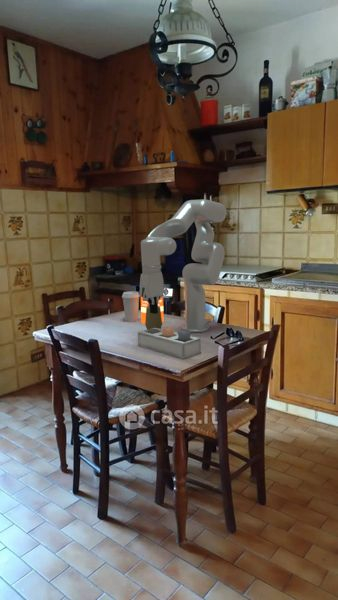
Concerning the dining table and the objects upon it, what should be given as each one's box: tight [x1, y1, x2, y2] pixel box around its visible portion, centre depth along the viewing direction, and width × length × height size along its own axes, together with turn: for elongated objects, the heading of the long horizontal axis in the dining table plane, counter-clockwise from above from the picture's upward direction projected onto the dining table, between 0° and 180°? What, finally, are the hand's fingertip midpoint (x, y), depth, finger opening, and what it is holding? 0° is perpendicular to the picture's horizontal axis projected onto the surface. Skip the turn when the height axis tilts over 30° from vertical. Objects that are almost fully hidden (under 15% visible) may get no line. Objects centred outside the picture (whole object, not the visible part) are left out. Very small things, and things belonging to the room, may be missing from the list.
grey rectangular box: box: [137, 328, 202, 360], centre depth 173 cm, size 10×26×6 cm, turn 45°
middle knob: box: [161, 326, 175, 338], centre depth 172 cm, size 5×5×5 cm
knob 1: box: [146, 329, 159, 334], centre depth 179 cm, size 5×5×5 cm
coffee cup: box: [121, 290, 141, 323], centre depth 224 cm, size 10×10×15 cm
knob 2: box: [177, 329, 191, 342], centre depth 166 cm, size 5×5×5 cm
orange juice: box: [140, 296, 165, 325], centre depth 218 cm, size 8×9×20 cm
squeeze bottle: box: [144, 304, 163, 330], centre depth 200 cm, size 8×8×18 cm
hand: (153, 312), depth 178 cm, fingers closed
